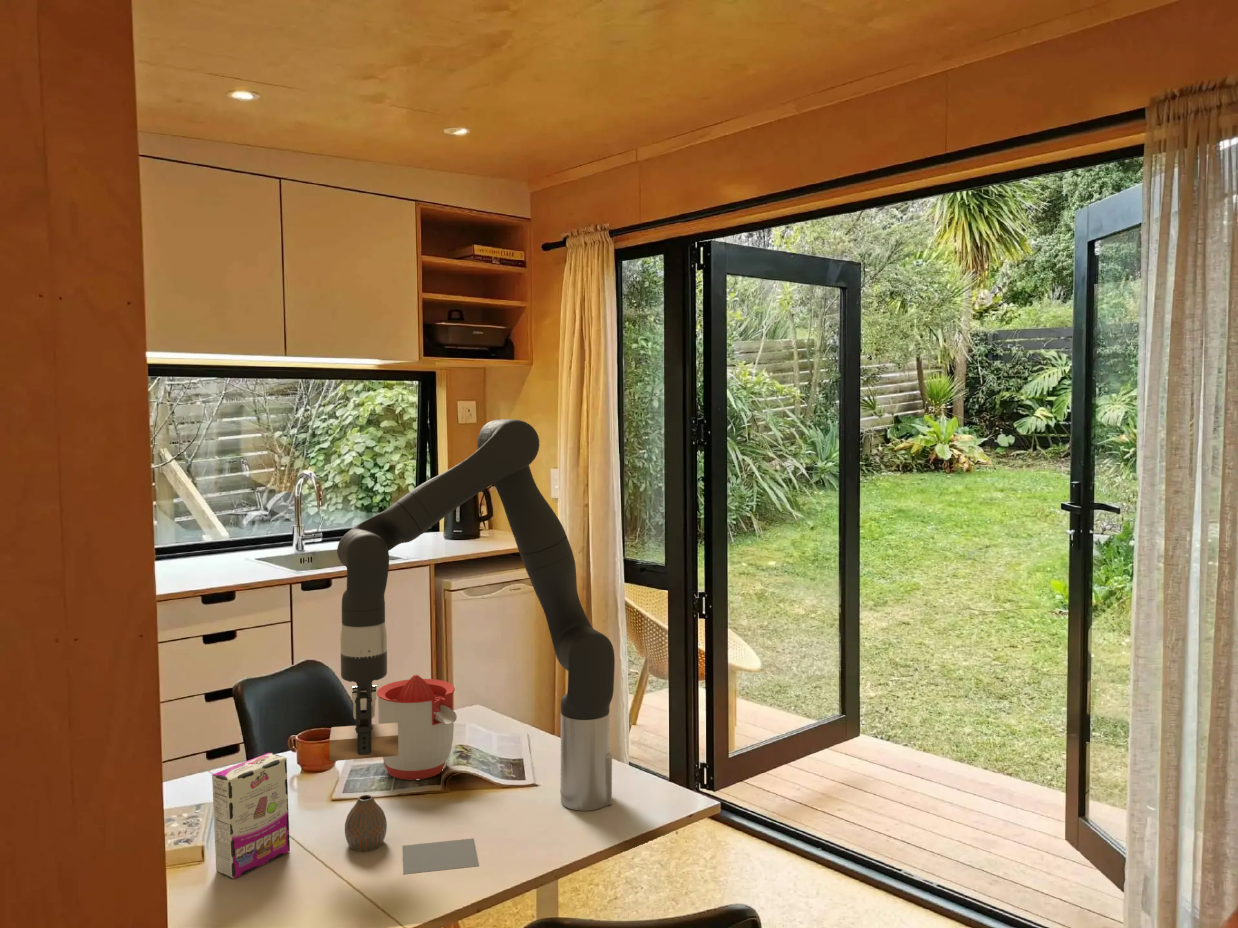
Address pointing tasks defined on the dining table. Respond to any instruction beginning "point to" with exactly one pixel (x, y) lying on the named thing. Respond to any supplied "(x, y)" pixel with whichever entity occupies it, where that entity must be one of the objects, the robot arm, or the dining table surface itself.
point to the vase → (365, 825)
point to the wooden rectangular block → (346, 742)
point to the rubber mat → (439, 856)
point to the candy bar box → (250, 814)
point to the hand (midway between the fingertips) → (364, 746)
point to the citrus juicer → (418, 725)
